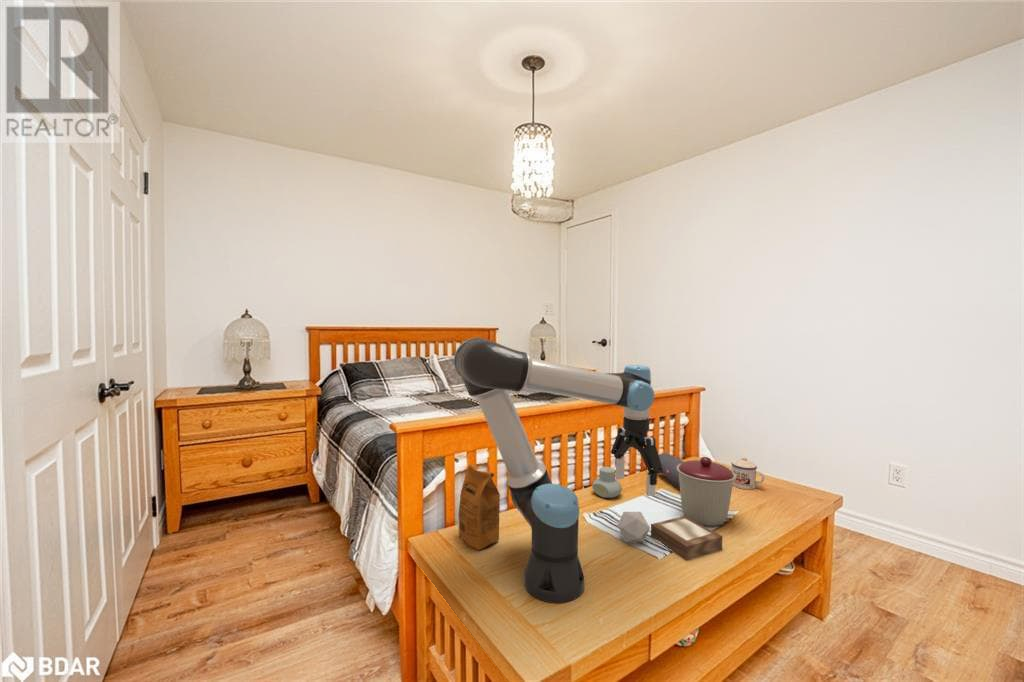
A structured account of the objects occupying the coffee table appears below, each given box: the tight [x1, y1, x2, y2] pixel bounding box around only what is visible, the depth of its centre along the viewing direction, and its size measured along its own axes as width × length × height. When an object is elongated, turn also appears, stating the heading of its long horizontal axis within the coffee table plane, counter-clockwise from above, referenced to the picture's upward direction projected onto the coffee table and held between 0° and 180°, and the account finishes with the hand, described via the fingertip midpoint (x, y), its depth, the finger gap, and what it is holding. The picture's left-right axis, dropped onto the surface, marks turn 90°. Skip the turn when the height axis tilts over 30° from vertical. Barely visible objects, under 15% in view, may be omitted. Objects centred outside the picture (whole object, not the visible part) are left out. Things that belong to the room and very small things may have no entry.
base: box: [650, 515, 723, 561], centre depth 128 cm, size 14×14×4 cm
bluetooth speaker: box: [658, 452, 684, 489], centre depth 173 cm, size 23×9×10 cm, turn 10°
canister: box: [677, 456, 736, 527], centre depth 143 cm, size 18×18×21 cm
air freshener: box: [591, 466, 623, 499], centre depth 162 cm, size 11×8×10 cm
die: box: [617, 511, 651, 543], centre depth 130 cm, size 8×9×10 cm
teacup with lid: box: [731, 456, 765, 491], centre depth 171 cm, size 12×9×12 cm
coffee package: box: [457, 463, 501, 551], centre depth 129 cm, size 10×12×22 cm
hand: (634, 486), depth 129 cm, fingers open, 13 cm apart
